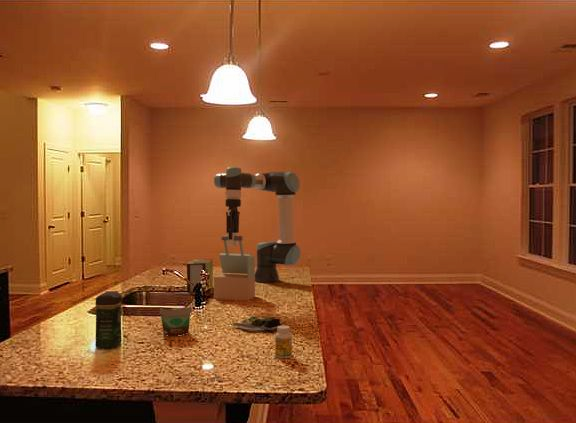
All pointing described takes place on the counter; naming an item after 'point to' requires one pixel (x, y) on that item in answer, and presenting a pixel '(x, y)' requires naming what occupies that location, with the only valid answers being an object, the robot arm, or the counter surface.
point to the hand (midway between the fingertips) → (232, 245)
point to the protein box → (198, 272)
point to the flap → (234, 259)
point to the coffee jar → (108, 320)
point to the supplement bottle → (283, 342)
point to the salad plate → (260, 324)
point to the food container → (175, 321)
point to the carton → (236, 284)
